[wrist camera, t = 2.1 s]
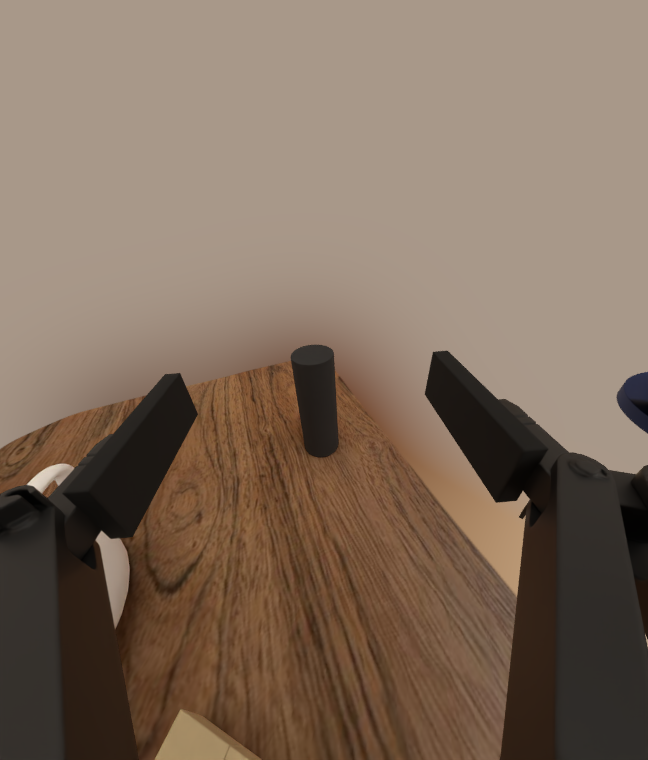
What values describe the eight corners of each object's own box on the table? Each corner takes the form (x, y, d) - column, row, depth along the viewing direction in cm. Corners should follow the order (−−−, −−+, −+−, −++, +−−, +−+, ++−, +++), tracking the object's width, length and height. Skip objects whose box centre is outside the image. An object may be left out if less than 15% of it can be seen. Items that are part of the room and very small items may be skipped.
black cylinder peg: (342, 435, 31) (339, 346, 25) (331, 461, 28) (324, 367, 21) (312, 428, 32) (301, 342, 26) (299, 452, 29) (282, 361, 23)
